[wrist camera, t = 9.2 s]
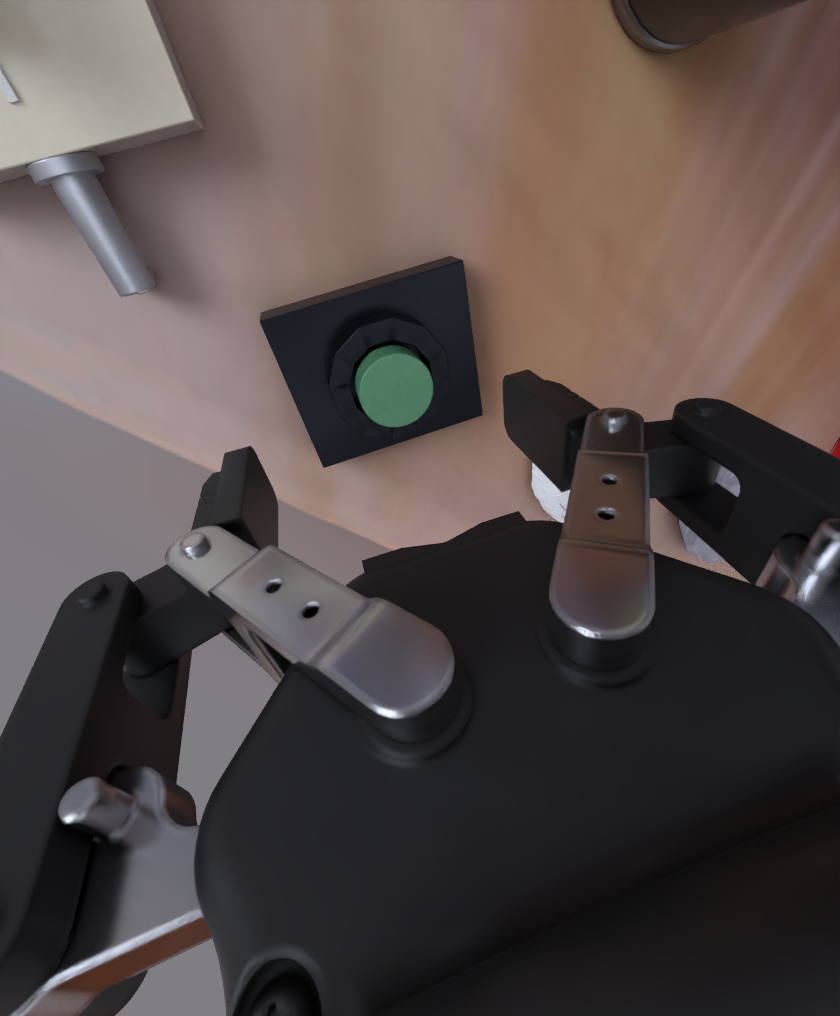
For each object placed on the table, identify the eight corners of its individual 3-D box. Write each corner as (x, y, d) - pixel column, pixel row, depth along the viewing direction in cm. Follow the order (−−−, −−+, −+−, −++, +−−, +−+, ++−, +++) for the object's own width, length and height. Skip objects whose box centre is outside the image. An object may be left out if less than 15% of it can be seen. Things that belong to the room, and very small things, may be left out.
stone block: (684, 544, 53) (767, 500, 49) (706, 573, 50) (797, 529, 46) (646, 499, 47) (738, 444, 43) (668, 530, 44) (771, 474, 39)
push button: (417, 335, 24) (425, 343, 23) (431, 403, 27) (439, 414, 26) (344, 357, 24) (348, 367, 22) (367, 424, 27) (371, 437, 25)
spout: (104, 154, 19) (82, 148, 17) (173, 283, 22) (162, 292, 20) (42, 170, 19) (11, 166, 17) (121, 298, 22) (104, 308, 20)
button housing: (450, 255, 25) (474, 263, 22) (472, 403, 32) (492, 425, 29) (260, 312, 25) (257, 329, 21) (321, 453, 31) (325, 481, 28)
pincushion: (505, 474, 37) (536, 512, 32) (558, 423, 35) (598, 456, 31) (571, 531, 44) (604, 568, 39) (618, 490, 42) (658, 525, 37)
